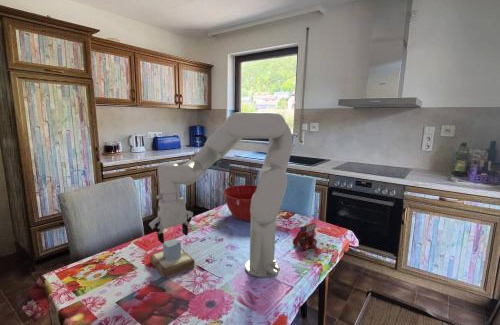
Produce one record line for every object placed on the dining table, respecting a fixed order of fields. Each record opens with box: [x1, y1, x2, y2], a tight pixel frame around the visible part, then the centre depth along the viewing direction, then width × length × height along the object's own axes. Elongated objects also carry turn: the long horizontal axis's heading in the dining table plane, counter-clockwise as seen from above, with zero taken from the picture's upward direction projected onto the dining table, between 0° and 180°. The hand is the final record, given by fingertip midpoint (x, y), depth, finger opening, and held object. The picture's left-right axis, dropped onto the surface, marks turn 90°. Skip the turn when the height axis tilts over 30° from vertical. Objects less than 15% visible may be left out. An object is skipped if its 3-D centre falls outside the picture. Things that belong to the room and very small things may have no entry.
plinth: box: [149, 248, 195, 279], centre depth 104 cm, size 14×12×3 cm
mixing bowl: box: [222, 184, 257, 222], centre depth 154 cm, size 28×28×15 cm
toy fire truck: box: [292, 222, 318, 251], centre depth 120 cm, size 7×12×10 cm, turn 128°
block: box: [162, 238, 182, 262], centre depth 103 cm, size 5×5×6 cm
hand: (173, 238), depth 102 cm, fingers open, 9 cm apart
